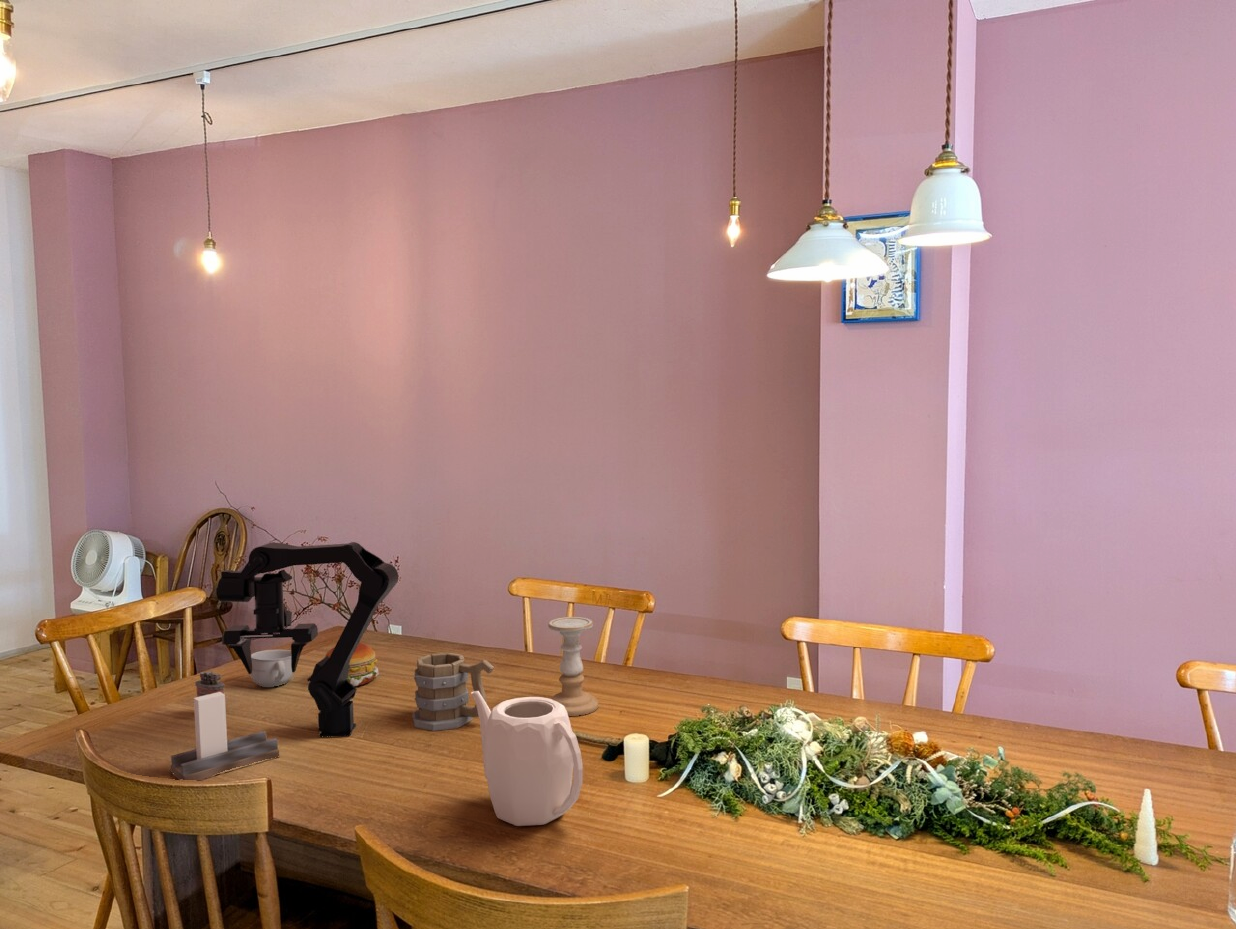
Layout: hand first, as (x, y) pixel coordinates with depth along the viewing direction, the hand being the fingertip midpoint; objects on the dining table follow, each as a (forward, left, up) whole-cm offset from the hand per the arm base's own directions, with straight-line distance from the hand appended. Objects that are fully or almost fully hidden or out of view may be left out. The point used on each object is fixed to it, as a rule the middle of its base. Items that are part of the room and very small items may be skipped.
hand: (272, 672), depth 193 cm
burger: (-9, -33, -13) cm, 37 cm away
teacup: (+10, -32, -13) cm, 36 cm away
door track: (+4, +18, -13) cm, 22 cm away
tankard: (-39, -1, -13) cm, 41 cm away
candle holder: (-65, -8, -13) cm, 67 cm away
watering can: (-56, +43, -13) cm, 72 cm away
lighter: (+18, -12, -13) cm, 25 cm away
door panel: (+6, +19, -12) cm, 23 cm away
